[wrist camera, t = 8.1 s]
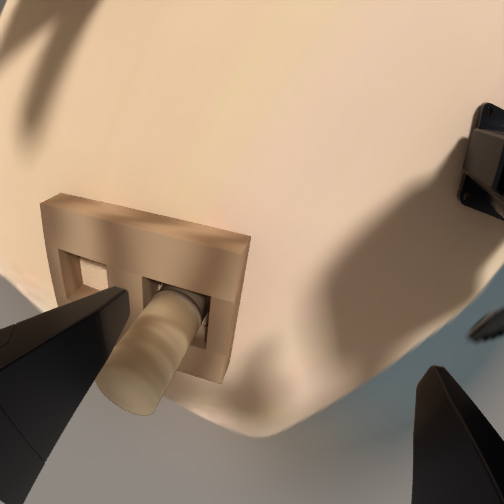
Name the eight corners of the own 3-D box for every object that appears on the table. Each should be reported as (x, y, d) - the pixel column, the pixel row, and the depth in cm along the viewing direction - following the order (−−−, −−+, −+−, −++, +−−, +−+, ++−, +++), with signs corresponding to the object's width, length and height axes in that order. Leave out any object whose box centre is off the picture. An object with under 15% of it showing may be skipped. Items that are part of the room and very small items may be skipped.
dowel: (214, 280, 23) (153, 386, 14) (210, 321, 25) (158, 424, 16) (164, 266, 23) (88, 358, 14) (164, 307, 25) (100, 399, 16)
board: (251, 236, 21) (241, 254, 18) (229, 362, 26) (221, 384, 24) (60, 193, 22) (40, 203, 20) (76, 308, 28) (62, 323, 26)
